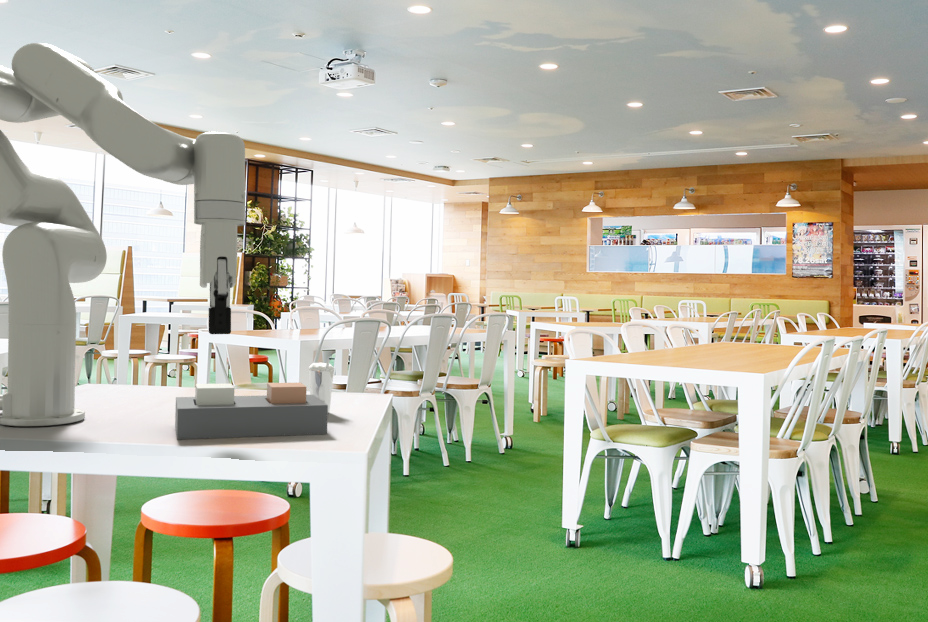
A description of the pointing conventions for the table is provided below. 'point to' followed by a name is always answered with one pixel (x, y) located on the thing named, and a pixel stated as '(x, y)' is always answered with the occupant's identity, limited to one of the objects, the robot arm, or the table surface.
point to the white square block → (214, 394)
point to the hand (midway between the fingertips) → (219, 333)
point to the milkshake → (321, 381)
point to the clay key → (286, 393)
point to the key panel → (249, 418)
